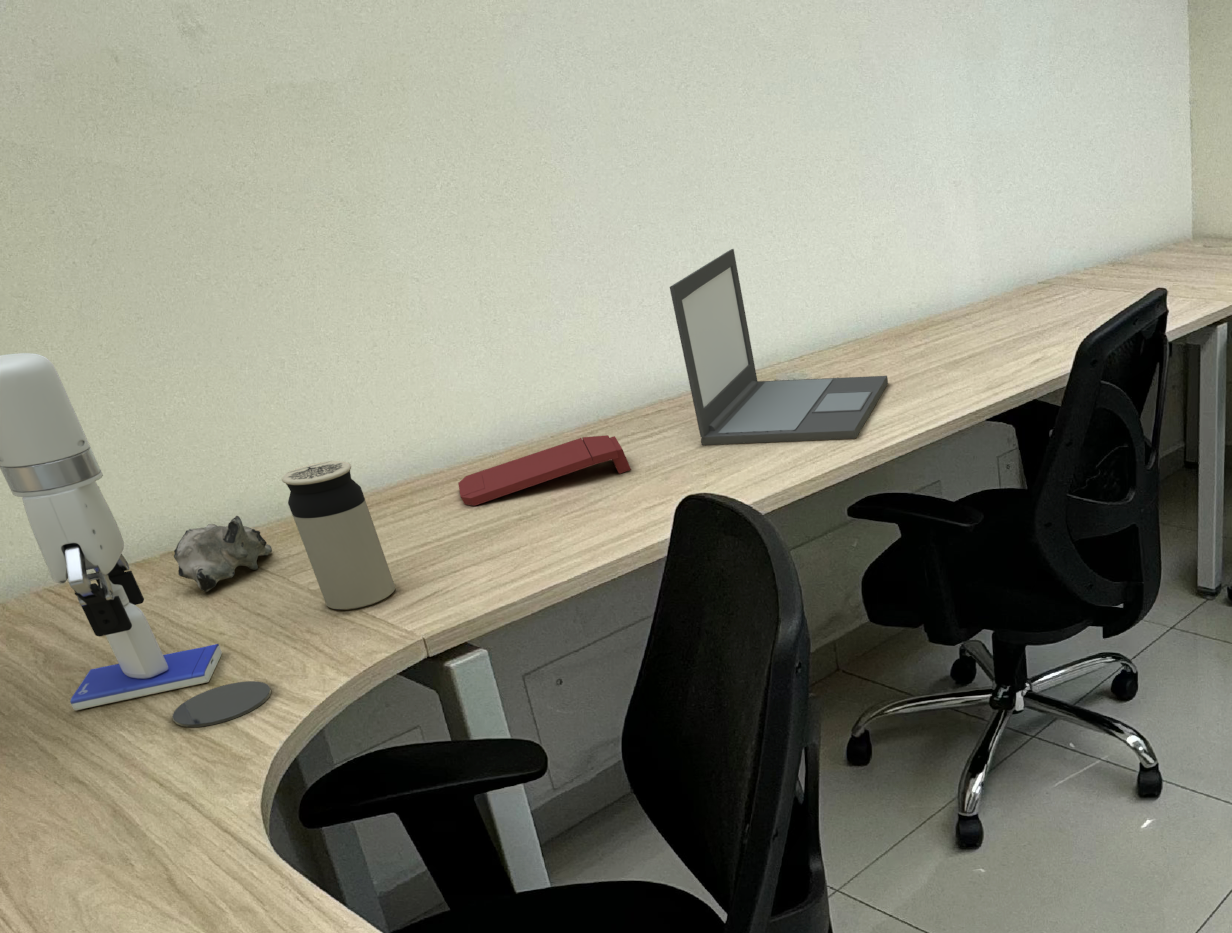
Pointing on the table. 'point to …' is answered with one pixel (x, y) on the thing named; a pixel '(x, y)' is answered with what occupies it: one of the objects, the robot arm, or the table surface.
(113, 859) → the table surface
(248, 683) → the slate coaster
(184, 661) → the hard drive
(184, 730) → the table surface
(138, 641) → the eye dropper bottle
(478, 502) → the red hooked bar
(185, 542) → the decorative stone
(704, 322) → the laptop
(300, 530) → the travel mug
